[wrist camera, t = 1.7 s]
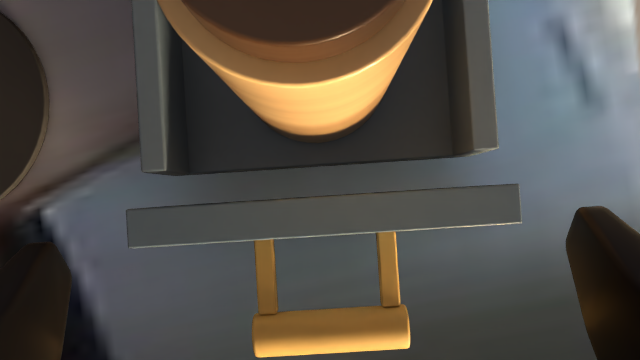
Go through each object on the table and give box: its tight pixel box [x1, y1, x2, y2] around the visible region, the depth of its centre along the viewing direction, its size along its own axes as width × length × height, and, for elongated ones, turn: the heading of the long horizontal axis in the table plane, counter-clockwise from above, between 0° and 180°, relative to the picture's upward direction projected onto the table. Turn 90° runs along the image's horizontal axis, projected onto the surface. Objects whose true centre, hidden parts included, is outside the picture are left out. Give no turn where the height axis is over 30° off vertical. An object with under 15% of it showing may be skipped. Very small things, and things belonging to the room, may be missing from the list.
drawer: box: [126, 0, 522, 357], centre depth 20 cm, size 16×12×4 cm
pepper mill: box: [157, 0, 433, 143], centre depth 14 cm, size 5×5×13 cm
